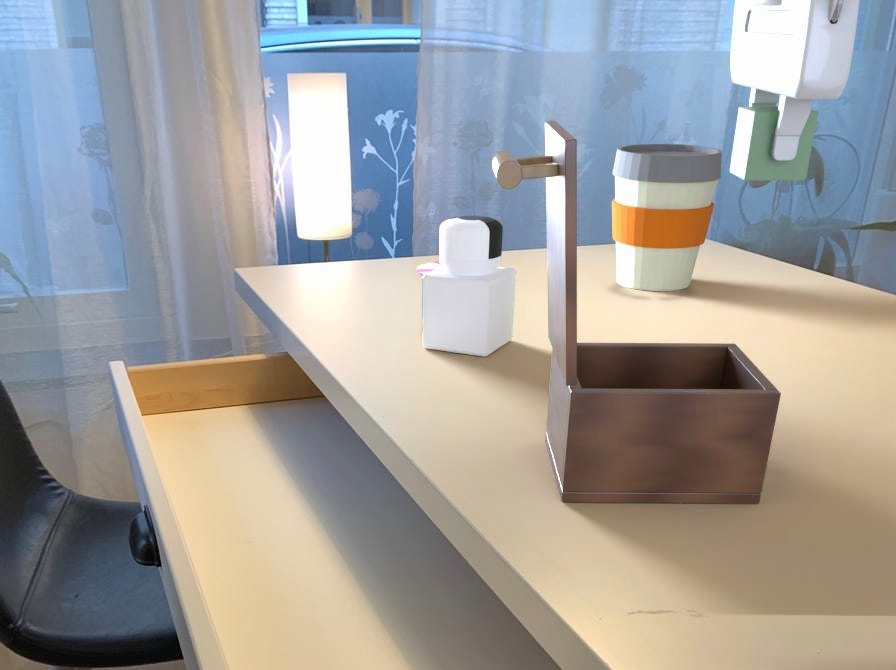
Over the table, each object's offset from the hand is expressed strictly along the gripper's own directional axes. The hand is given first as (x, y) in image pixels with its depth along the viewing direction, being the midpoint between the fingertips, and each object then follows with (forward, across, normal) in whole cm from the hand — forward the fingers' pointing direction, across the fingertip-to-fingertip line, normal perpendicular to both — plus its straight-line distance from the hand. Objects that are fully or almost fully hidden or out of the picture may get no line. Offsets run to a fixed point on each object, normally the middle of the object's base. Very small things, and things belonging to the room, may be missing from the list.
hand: (770, 154), depth 84 cm
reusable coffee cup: (+19, +39, 0) cm, 43 cm away
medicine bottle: (+19, +11, +24) cm, 32 cm away
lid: (+3, -22, +19) cm, 29 cm away
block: (+2, 0, 0) cm, 2 cm away
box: (+19, -22, +12) cm, 31 cm away
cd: (+19, +45, +24) cm, 54 cm away
